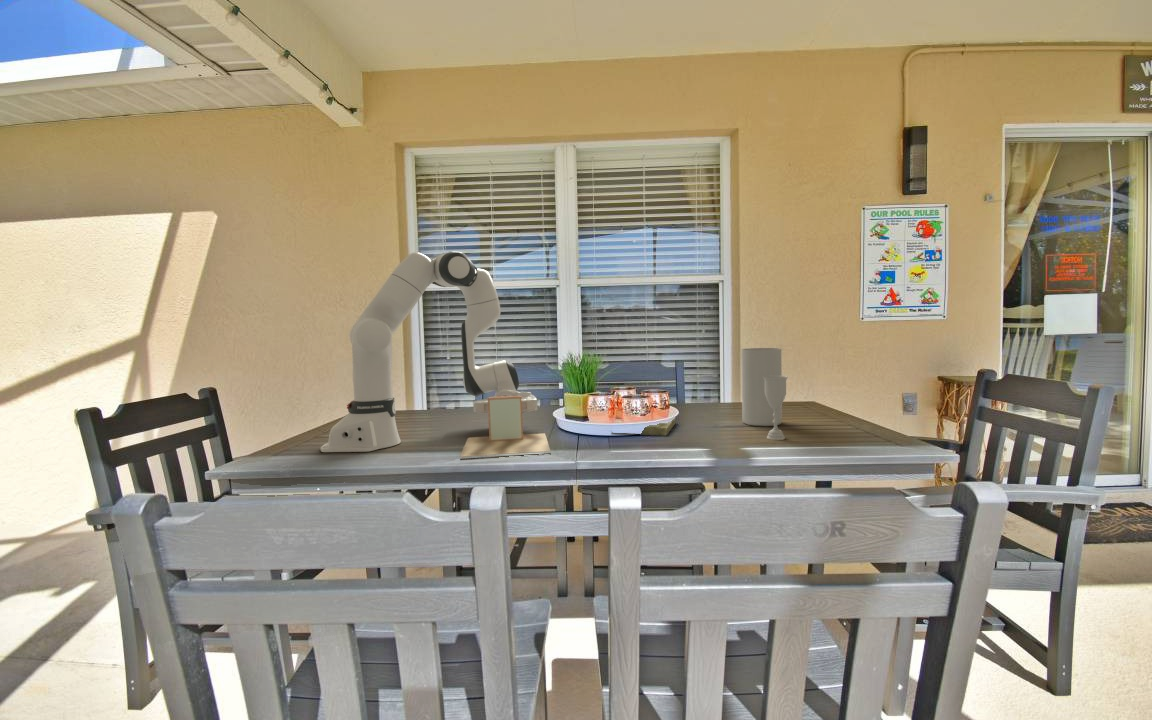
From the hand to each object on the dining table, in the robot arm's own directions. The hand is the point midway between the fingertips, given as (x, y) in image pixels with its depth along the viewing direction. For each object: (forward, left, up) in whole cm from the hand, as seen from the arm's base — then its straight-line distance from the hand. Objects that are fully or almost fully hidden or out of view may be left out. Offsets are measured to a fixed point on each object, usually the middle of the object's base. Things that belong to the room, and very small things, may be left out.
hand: (505, 408), depth 155 cm
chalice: (+78, -18, -10) cm, 81 cm away
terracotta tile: (0, -3, -9) cm, 9 cm away
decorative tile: (+45, +7, -11) cm, 47 cm away
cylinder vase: (+85, +4, -10) cm, 86 cm away
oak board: (0, -9, -10) cm, 13 cm away
